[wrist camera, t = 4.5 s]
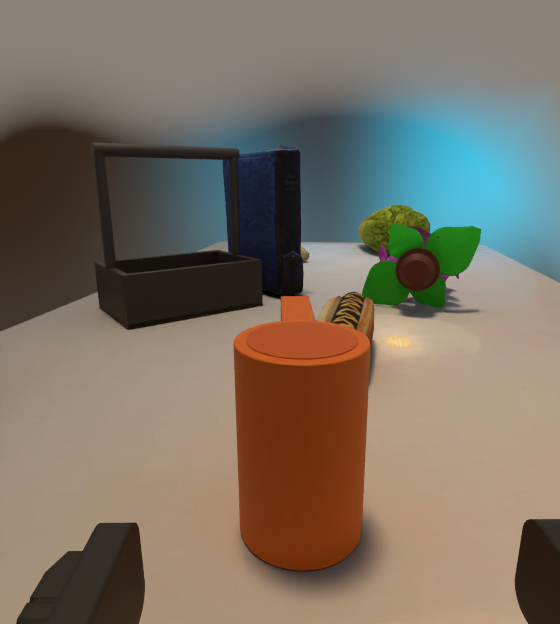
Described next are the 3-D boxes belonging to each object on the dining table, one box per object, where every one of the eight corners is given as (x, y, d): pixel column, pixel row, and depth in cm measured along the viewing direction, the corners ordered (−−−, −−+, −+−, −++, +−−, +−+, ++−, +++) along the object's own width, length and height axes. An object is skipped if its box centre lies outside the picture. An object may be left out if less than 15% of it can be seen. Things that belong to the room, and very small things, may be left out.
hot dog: (302, 385, 36) (303, 324, 35) (326, 333, 48) (327, 287, 47) (367, 391, 35) (370, 328, 34) (374, 337, 47) (377, 289, 46)
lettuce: (393, 223, 121) (357, 194, 117) (449, 225, 98) (407, 189, 94) (368, 261, 121) (331, 234, 117) (417, 272, 98) (374, 239, 94)
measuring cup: (372, 570, 19) (384, 362, 16) (235, 572, 19) (226, 364, 16) (339, 435, 29) (343, 294, 26) (249, 436, 29) (245, 295, 26)
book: (308, 295, 65) (310, 145, 60) (279, 301, 62) (277, 144, 57) (252, 279, 76) (248, 152, 71) (224, 284, 73) (218, 151, 68)
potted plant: (375, 345, 56) (399, 301, 89) (513, 285, 50) (484, 261, 82) (328, 255, 56) (369, 243, 88) (460, 183, 50) (453, 199, 82)
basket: (126, 329, 50) (107, 137, 45) (97, 308, 59) (79, 146, 54) (264, 305, 60) (261, 145, 55) (221, 289, 69) (215, 151, 64)
